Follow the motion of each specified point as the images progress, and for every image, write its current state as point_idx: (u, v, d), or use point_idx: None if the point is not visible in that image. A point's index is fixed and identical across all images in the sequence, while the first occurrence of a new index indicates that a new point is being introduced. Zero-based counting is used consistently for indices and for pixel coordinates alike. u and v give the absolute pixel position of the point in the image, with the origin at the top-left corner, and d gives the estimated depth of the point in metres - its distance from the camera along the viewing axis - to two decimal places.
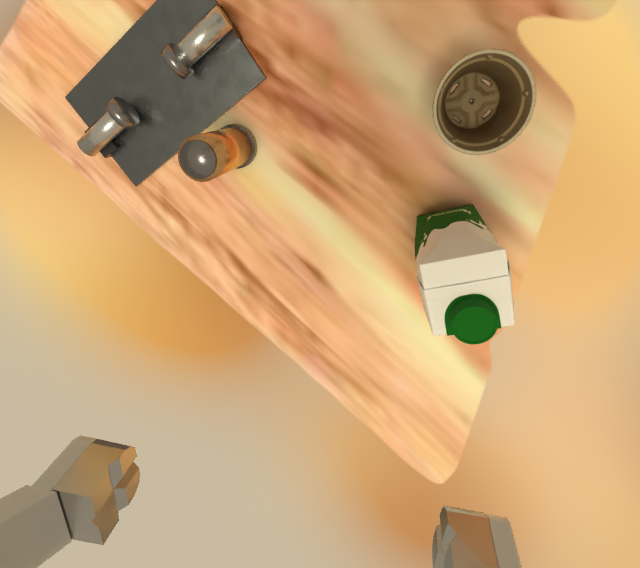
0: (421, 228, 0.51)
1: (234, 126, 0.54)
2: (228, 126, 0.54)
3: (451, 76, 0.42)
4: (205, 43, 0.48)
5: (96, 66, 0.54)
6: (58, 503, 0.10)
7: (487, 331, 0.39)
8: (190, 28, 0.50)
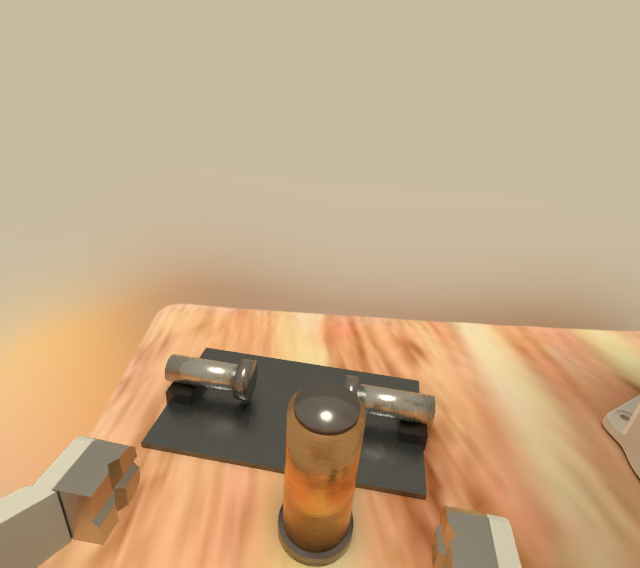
0: None
1: None
2: None
3: None
4: (398, 404, 0.38)
5: (261, 357, 0.48)
6: (58, 503, 0.10)
7: None
8: None
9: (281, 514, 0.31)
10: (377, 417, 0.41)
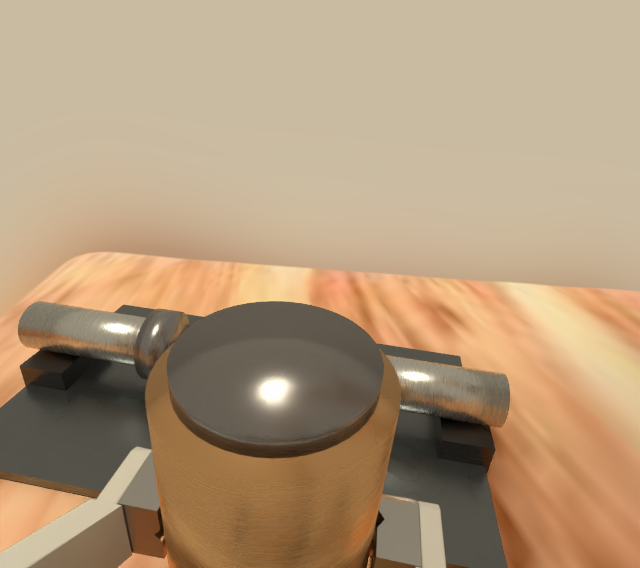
0: None
1: None
2: None
3: None
4: (439, 387, 0.20)
5: None
6: (123, 516, 0.10)
7: None
8: None
9: None
10: None
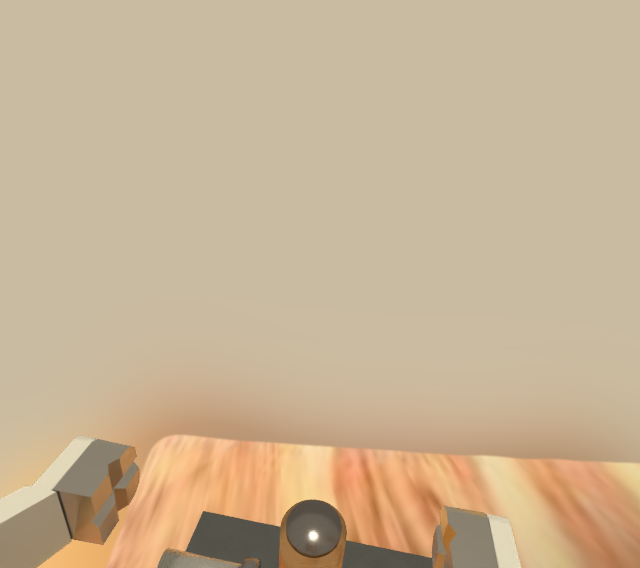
0: None
1: None
2: None
3: None
4: None
5: (265, 525, 0.43)
6: (58, 503, 0.10)
7: None
8: None
9: None
10: None
